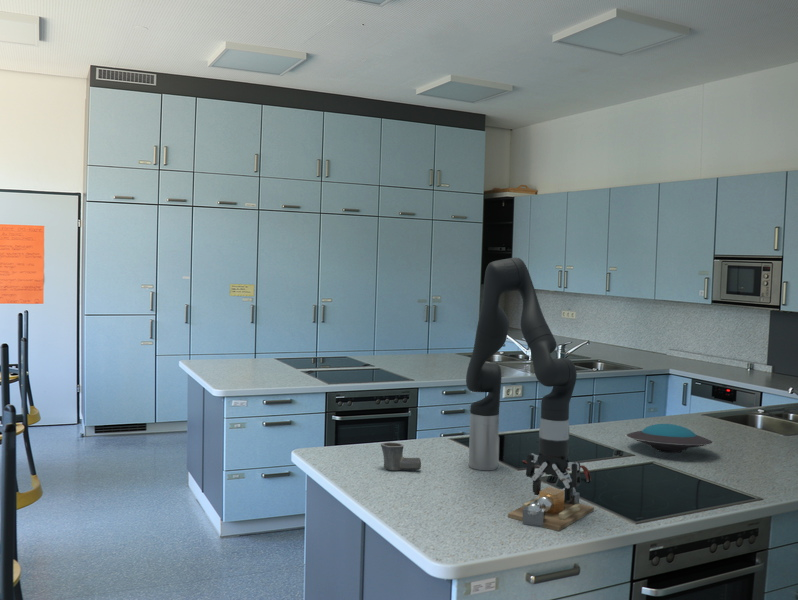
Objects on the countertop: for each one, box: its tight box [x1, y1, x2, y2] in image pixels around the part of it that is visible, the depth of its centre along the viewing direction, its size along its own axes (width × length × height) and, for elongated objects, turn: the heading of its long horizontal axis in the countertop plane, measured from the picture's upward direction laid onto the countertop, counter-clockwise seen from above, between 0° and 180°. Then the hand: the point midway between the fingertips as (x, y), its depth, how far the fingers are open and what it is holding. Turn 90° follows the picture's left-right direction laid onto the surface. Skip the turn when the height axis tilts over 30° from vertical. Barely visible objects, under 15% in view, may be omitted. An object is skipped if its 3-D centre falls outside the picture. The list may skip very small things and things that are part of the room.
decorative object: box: [624, 423, 714, 454], centre depth 245 cm, size 29×29×10 cm
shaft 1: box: [522, 501, 545, 528], centre depth 170 cm, size 4×5×5 cm
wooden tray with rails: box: [507, 496, 595, 532], centre depth 177 cm, size 20×14×2 cm
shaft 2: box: [562, 487, 581, 505], centre depth 184 cm, size 4×5×5 cm
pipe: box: [380, 441, 422, 471], centre depth 214 cm, size 6×13×8 cm, turn 79°
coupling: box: [537, 486, 565, 514], centre depth 177 cm, size 10×4×5 cm, turn 141°
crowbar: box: [521, 459, 592, 483], centre depth 216 cm, size 26×2×5 cm, turn 39°
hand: (552, 498), depth 177 cm, fingers open, 8 cm apart
